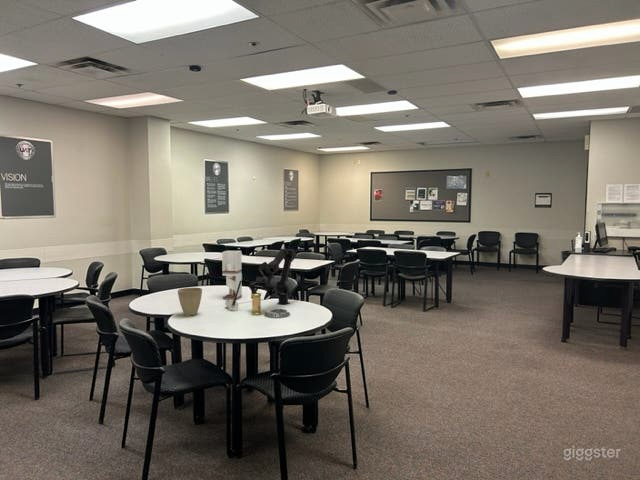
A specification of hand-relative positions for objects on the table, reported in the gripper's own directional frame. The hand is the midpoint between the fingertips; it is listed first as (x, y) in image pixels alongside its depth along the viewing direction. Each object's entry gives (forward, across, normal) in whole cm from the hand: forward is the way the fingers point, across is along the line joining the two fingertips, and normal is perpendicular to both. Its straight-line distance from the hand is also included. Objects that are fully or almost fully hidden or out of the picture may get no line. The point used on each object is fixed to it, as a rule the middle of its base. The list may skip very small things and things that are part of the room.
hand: (257, 299), depth 286 cm
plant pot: (+21, -37, -7) cm, 43 cm away
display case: (-17, -43, +30) cm, 55 cm away
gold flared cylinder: (+8, 0, +6) cm, 9 cm away
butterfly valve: (+3, -23, +11) cm, 26 cm away
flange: (+5, +13, +8) cm, 16 cm away
